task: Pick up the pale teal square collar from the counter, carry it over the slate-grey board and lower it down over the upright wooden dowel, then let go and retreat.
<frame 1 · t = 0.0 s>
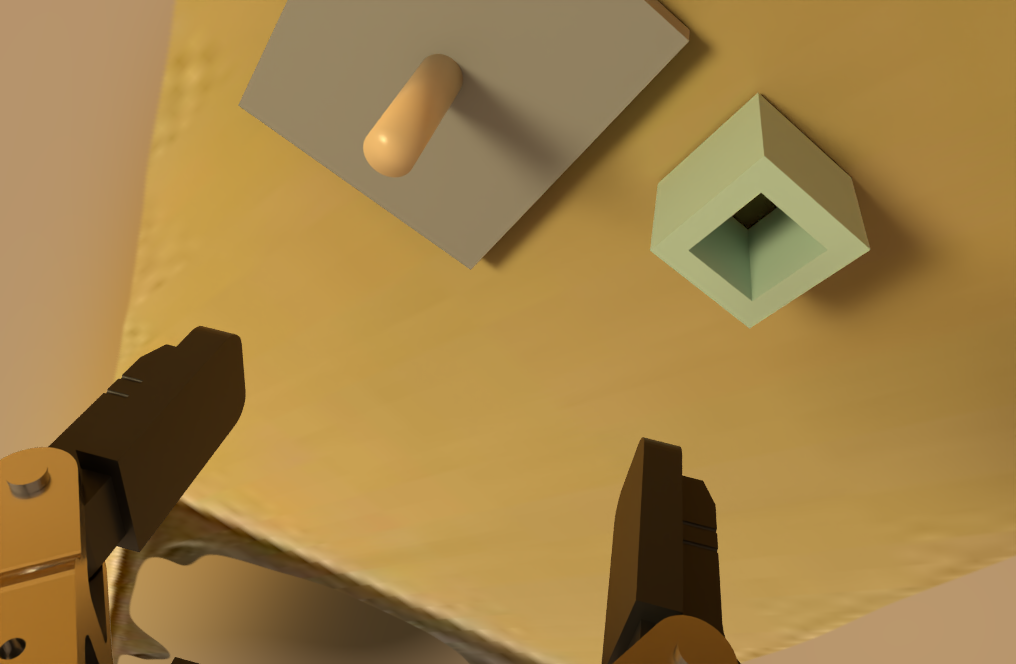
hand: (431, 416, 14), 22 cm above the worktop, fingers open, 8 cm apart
board: (448, 65, 33), on the worktop
collar: (751, 180, 33), on the worktop
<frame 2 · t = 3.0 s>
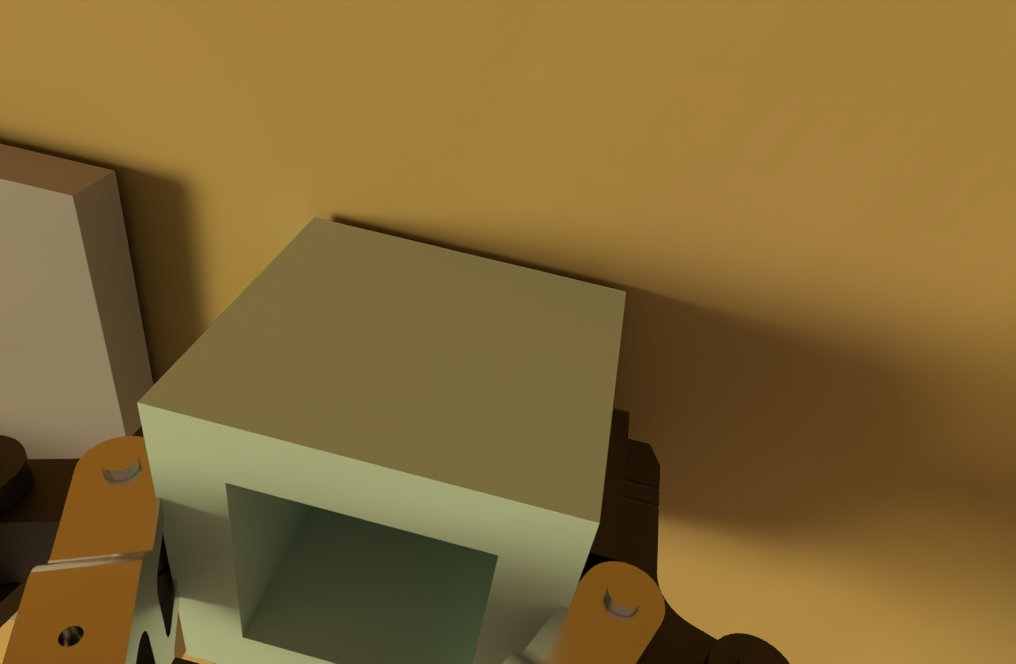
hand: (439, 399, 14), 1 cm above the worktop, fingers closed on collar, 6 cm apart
collar: (450, 376, 15), on the worktop, touching gripper
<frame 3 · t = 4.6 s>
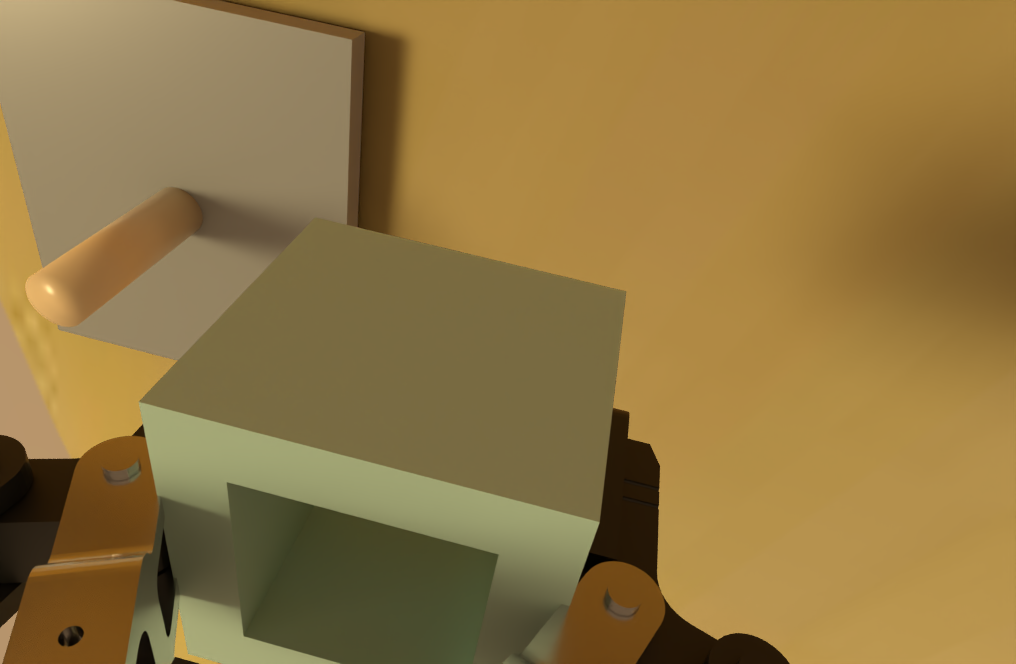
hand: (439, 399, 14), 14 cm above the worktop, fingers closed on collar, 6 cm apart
board: (195, 198, 30), on the worktop
collar: (450, 376, 15), point 13 cm above the worktop, touching gripper
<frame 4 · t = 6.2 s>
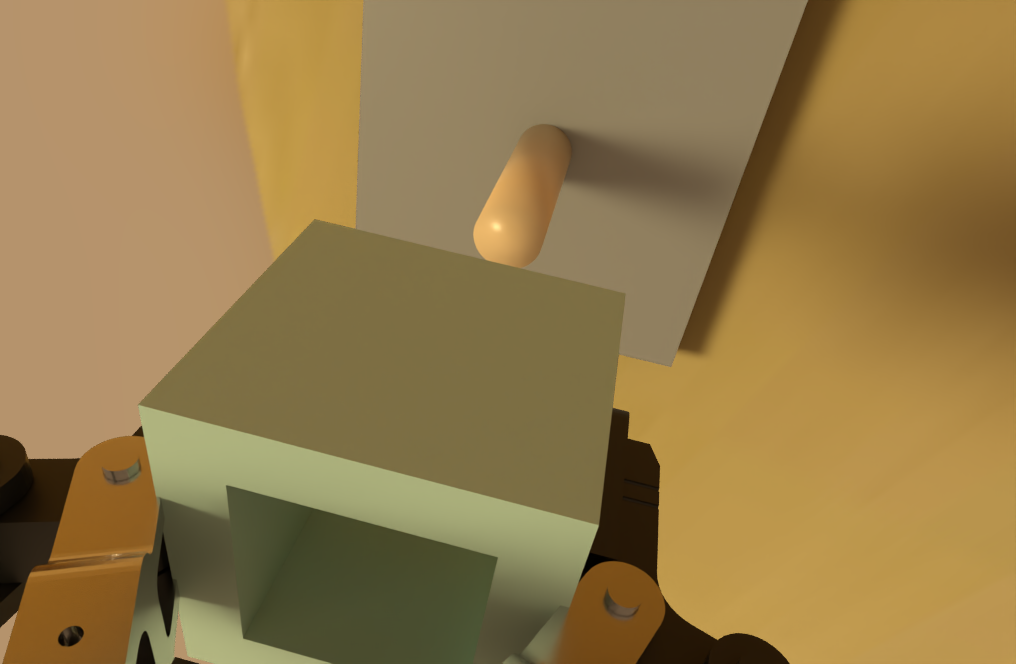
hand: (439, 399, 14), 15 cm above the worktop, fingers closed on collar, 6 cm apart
board: (549, 140, 27), on the worktop
collar: (450, 378, 15), point 15 cm above the worktop, touching gripper
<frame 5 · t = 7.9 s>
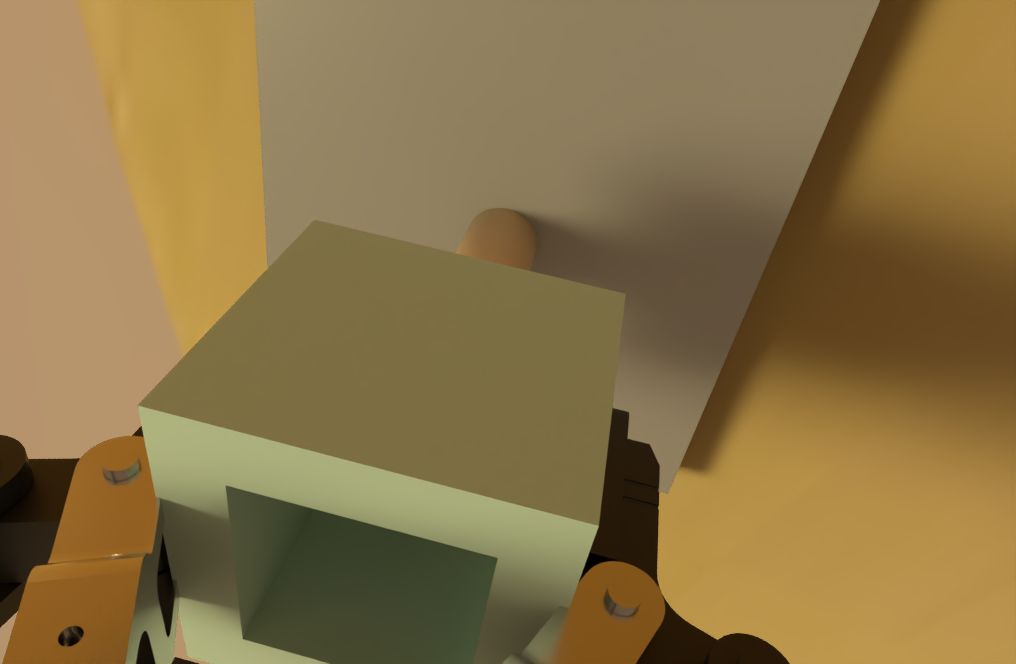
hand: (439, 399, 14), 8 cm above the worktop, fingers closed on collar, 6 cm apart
board: (510, 222, 21), on the worktop
collar: (450, 378, 15), point 7 cm above the worktop, touching gripper
when the fingers open (4 cm above the worktop, at t = 9.5 s): collar drops 2 cm, resting on board.
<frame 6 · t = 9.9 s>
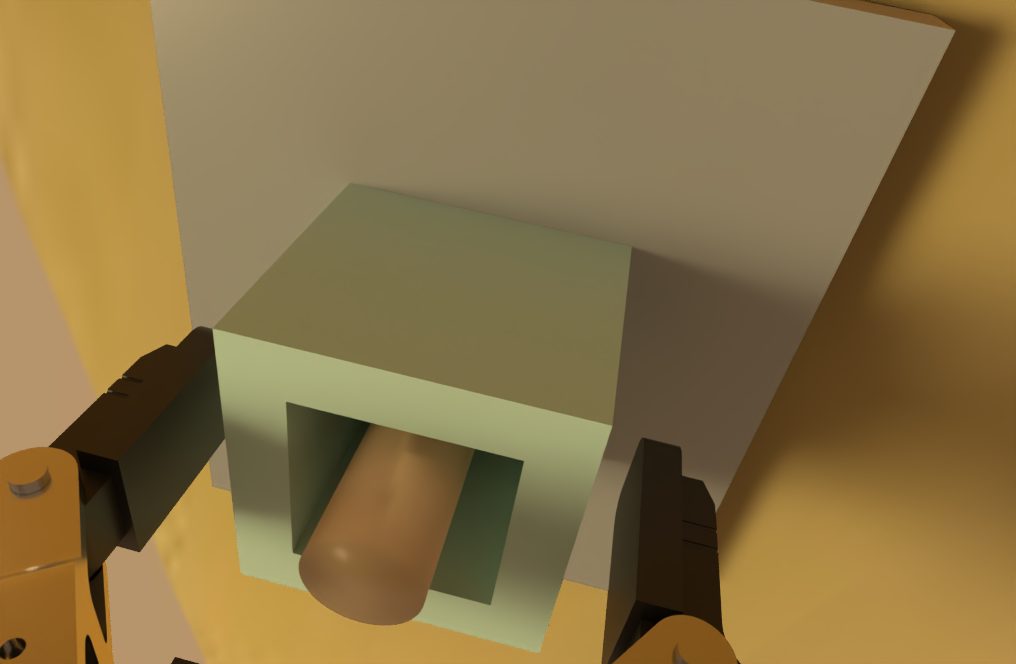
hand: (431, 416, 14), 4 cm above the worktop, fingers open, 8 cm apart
board: (480, 301, 18), on the worktop
collar: (471, 330, 17), point 1 cm above the worktop, touching board
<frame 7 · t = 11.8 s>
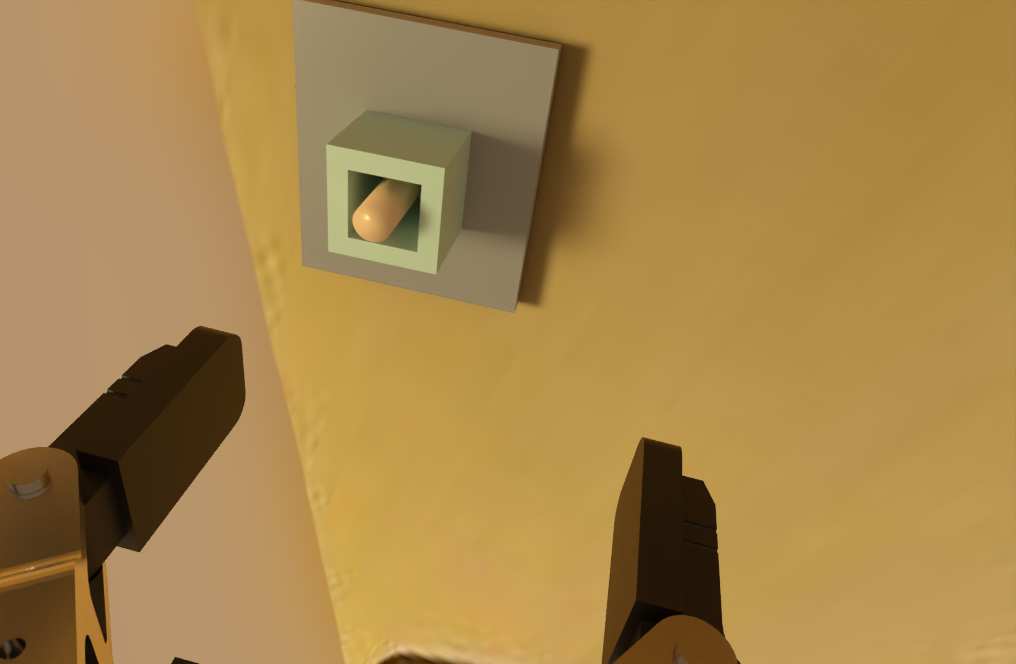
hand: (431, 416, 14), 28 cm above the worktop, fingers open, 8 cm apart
board: (420, 163, 42), on the worktop
collar: (415, 171, 41), point 1 cm above the worktop, touching board
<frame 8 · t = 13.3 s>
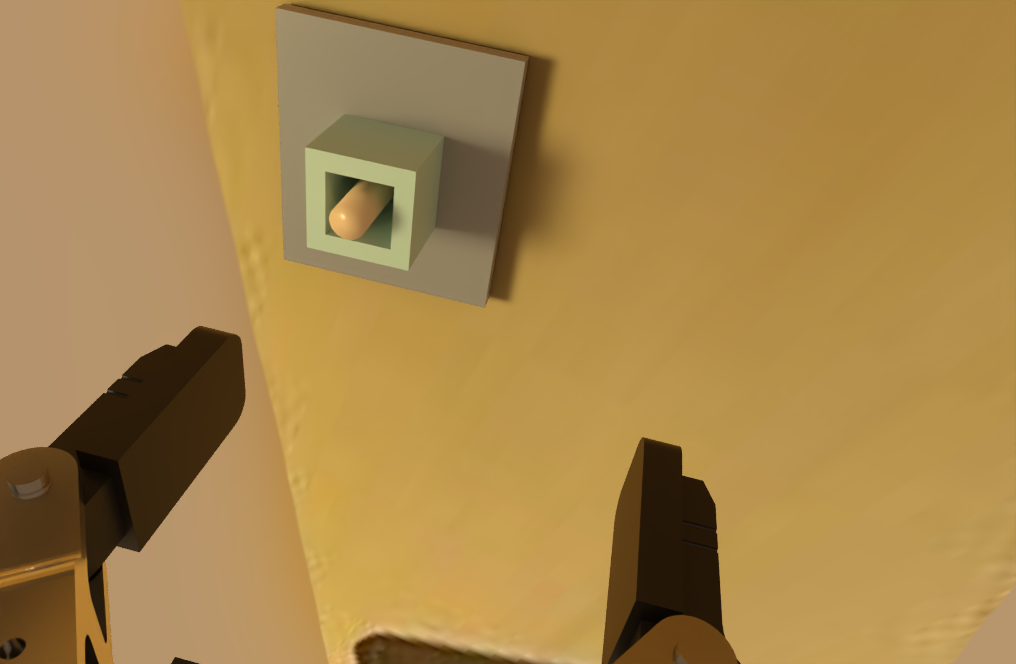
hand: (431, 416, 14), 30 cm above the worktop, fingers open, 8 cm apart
board: (396, 165, 44), on the worktop
collar: (391, 173, 43), point 1 cm above the worktop, touching board
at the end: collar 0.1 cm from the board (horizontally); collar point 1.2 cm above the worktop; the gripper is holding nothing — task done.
